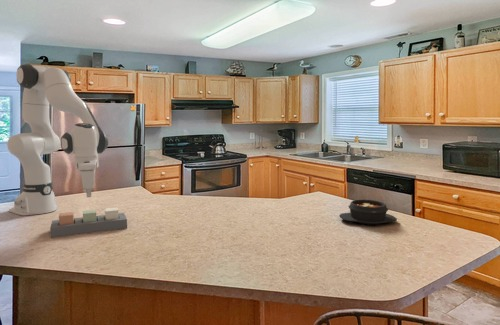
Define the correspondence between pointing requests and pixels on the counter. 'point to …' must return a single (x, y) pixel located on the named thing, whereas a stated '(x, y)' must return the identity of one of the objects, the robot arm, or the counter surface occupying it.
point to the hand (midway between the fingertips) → (89, 196)
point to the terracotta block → (66, 218)
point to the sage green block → (89, 216)
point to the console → (87, 226)
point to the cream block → (111, 213)
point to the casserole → (368, 212)
